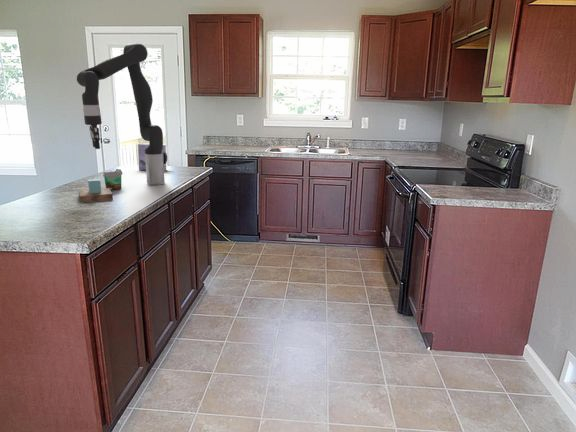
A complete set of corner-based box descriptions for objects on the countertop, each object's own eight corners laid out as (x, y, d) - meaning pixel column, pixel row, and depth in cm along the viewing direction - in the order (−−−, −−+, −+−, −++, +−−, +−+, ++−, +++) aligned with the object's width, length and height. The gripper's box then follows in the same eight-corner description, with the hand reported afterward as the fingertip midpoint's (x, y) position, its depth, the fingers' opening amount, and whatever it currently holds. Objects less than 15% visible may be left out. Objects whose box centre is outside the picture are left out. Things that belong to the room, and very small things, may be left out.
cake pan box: (168, 169, 290) (166, 144, 285) (165, 171, 285) (164, 144, 280) (141, 169, 292) (139, 143, 287) (138, 170, 287) (136, 144, 282)
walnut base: (109, 194, 214) (108, 188, 213) (113, 199, 202) (112, 193, 201) (78, 196, 207) (78, 190, 206) (80, 202, 195) (80, 196, 194)
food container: (115, 192, 219) (113, 173, 216) (104, 191, 220) (102, 172, 217) (128, 187, 231) (126, 169, 228) (118, 186, 232) (116, 168, 229)
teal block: (100, 190, 207) (99, 178, 205) (101, 192, 203) (100, 180, 201) (89, 191, 205) (87, 179, 203) (90, 193, 200) (88, 181, 199)
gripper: (102, 115, 200) (106, 149, 205) (98, 113, 212) (102, 145, 217) (85, 115, 197) (89, 150, 201) (82, 114, 208) (86, 146, 213)
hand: (96, 147), depth 209 cm, fingers open, 8 cm apart
